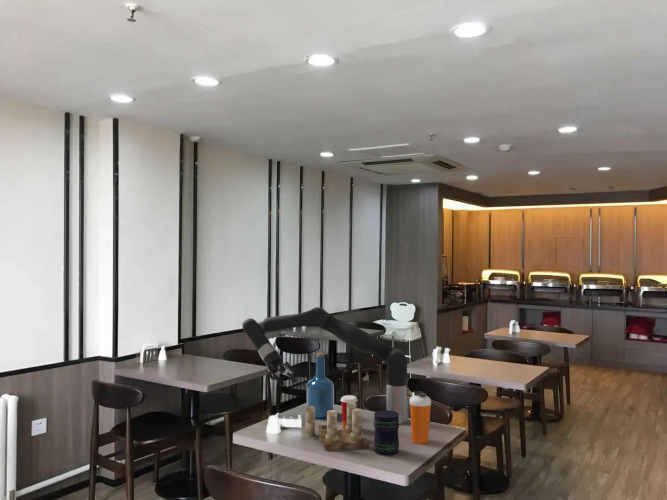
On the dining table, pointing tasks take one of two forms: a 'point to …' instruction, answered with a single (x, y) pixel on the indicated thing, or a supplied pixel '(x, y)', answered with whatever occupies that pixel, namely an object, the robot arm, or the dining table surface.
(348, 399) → the paper cup
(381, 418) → the storage jar
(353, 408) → the stool
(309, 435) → the leg
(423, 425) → the shaker bottle
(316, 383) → the wine bottle
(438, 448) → the dining table surface
